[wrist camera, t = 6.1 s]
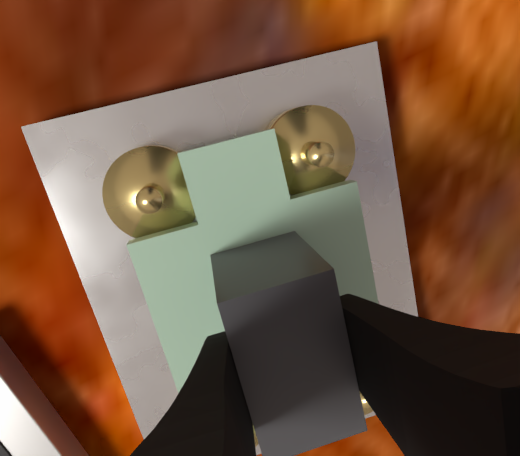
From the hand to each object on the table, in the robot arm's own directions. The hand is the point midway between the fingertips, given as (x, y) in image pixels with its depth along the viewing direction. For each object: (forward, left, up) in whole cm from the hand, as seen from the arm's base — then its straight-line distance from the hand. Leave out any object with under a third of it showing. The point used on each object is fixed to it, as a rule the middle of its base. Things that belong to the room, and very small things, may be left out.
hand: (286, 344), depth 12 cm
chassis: (0, 0, -6) cm, 6 cm away
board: (0, 0, -3) cm, 3 cm away
